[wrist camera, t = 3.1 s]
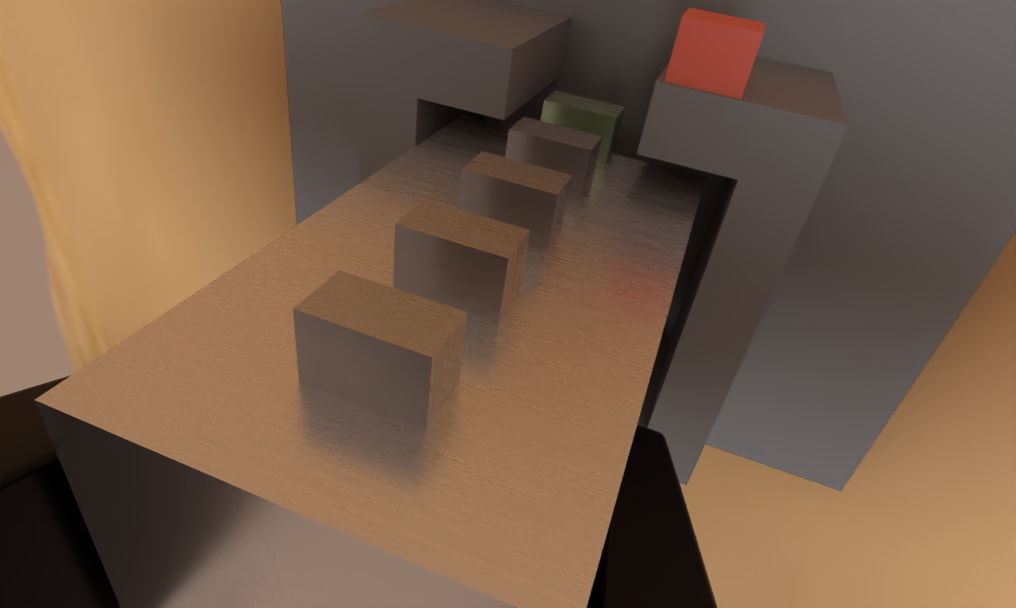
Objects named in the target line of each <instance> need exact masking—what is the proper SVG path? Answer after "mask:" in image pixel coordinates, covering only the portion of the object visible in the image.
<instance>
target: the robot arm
mask: <svg viewBox="0 0 1016 608" xmlns="http://www.w3.org/2000/svg"><path fill="white" fill-rule="evenodd" d="M70 376H71V375H70ZM70 376H67V377H64V378H61V379H57V380H54V381H51V382H47V383H44V384H41V385H37V386H34V387H31V388H28V389H24V390H21V391H18V392H15V393H11V394H8V395H5V396H1V397H0V608H120V605H119V603H118V600H117V598H116V596H115V593H114V591H113V588H112V586H111V583H110V581H109V579H108V576H107V574H106V571H105V569H104V567H103V564H102V562H101V559H100V557H99V554H98V552H97V550H96V547H95V545H94V542H93V540H92V538H91V535H90V533H89V530H88V528H87V525H86V523H85V521H84V518H83V516H82V513H81V511H80V509H79V506H78V504H77V501H76V499H75V496H74V494H73V492H72V489H71V487H70V484H69V482H68V480H67V477H66V475H65V472H64V470H63V467H62V465H61V463H60V460H59V458H58V455H57V453H56V451H55V448H54V446H53V443H52V441H51V438H50V436H49V434H48V431H47V429H46V426H45V424H44V422H43V419H42V417H41V414H40V412H39V409H38V407H37V405H36V402H35V399H37V398H38V397H40V396H41V395H43V394H44V393H46V392H47V391H49V390H50V389H52V388H53V387H55V386H56V385H58V384H59V383H61V382H62V381H64V380H65V379H67V378H68V377H70ZM586 608H717V605H716V601H715V598H714V595H713V592H712V588H711V585H710V582H709V578H708V575H707V572H706V569H705V565H704V562H703V559H702V556H701V552H700V549H699V546H698V542H697V539H696V536H695V533H694V529H693V526H692V523H691V520H690V516H689V513H688V510H687V506H686V503H685V500H684V497H683V493H682V490H681V487H680V483H679V480H678V477H677V474H676V470H675V467H674V464H673V461H672V457H671V454H670V451H669V447H668V444H667V441H666V438H665V436H664V435H663V434H662V433H660V432H658V431H655V430H652V429H650V428H647V427H644V426H641V425H638V424H637V427H636V430H635V434H634V438H633V441H632V445H631V448H630V452H629V456H628V459H627V463H626V467H625V470H624V474H623V477H622V481H621V485H620V488H619V492H618V495H617V499H616V503H615V506H614V510H613V513H612V517H611V521H610V524H609V528H608V531H607V535H606V539H605V542H604V546H603V550H602V553H601V557H600V560H599V564H598V568H597V571H596V575H595V578H594V582H593V586H592V589H591V593H590V596H589V600H588V604H587V607H586Z"/></svg>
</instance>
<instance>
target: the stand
mask: <svg viewBox="0 0 1016 608" xmlns="http://www.w3.org/2000/svg"><path fill="white" fill-rule="evenodd" d="M281 5H282V19H283V34H284V48H285V62H286V77H287V91H288V105H289V119H290V134H291V148H292V162H293V176H294V191H295V205H296V219H297V225H298V224H299V223H301V222H302V221H304V220H306V219H307V218H309V217H310V216H312V215H313V214H315V213H316V212H318V211H319V210H321V209H322V208H324V207H325V206H327V205H328V204H330V203H331V202H333V201H334V200H336V199H337V198H339V197H340V196H342V195H343V194H345V193H346V192H348V191H349V190H351V189H352V188H354V187H355V186H357V185H358V184H360V183H361V182H363V181H364V180H366V179H367V178H369V177H370V176H372V175H373V174H375V173H376V172H378V171H379V170H381V169H382V168H384V167H385V166H387V165H388V164H390V163H391V162H393V161H394V160H396V159H397V158H399V157H400V156H402V155H403V154H405V153H406V152H408V151H409V150H411V149H412V148H414V147H415V146H417V145H418V144H420V143H421V142H423V141H424V140H426V139H427V138H429V137H430V136H432V135H433V134H435V133H436V132H438V131H439V130H441V129H442V128H444V127H445V126H447V125H448V124H450V123H451V122H453V121H454V120H456V119H457V118H459V117H460V116H462V115H466V116H470V117H474V118H478V119H481V120H485V121H489V122H493V123H497V124H501V125H505V126H509V127H512V126H513V125H515V124H516V123H517V122H518V121H519V120H521V119H522V118H523V117H527V118H531V119H535V120H539V121H541V115H542V109H543V103H544V100H545V99H546V98H547V97H548V96H550V95H551V94H552V93H553V92H554V91H559V92H564V93H568V94H572V95H576V96H580V97H585V98H589V99H593V100H597V101H601V102H605V103H610V104H614V105H618V106H622V107H625V108H624V112H623V116H622V120H621V125H620V129H619V133H618V137H617V141H616V146H615V150H614V152H613V153H614V154H618V155H622V156H626V157H629V158H633V159H637V160H641V161H645V162H649V163H653V164H657V165H661V166H664V167H668V168H672V169H676V170H680V171H684V172H688V173H692V174H696V175H700V176H703V177H706V178H705V181H704V185H703V189H702V192H701V196H700V199H699V203H698V207H697V210H696V214H695V218H694V221H693V225H692V228H691V232H690V236H689V239H688V243H687V246H686V250H685V254H684V257H683V261H682V264H681V268H680V272H679V275H678V279H677V282H676V286H675V290H674V293H673V297H672V301H671V304H670V308H669V311H668V315H667V319H666V322H665V326H664V329H663V333H662V337H661V340H660V344H659V347H658V351H657V355H656V358H655V362H654V365H653V369H652V373H651V376H650V380H649V384H648V387H647V391H646V394H645V398H644V402H643V405H642V409H641V412H640V416H639V420H638V423H637V424H638V425H641V426H644V427H647V428H650V429H652V430H655V431H658V432H660V433H662V434H663V435H664V436H665V438H666V441H667V444H668V447H669V451H670V454H671V457H672V461H673V464H674V467H675V470H676V474H677V477H678V480H679V483H682V484H685V485H687V483H688V481H689V478H690V476H691V474H692V472H693V469H694V467H695V465H696V463H697V461H698V458H699V456H700V454H701V452H702V449H703V447H704V445H705V444H707V445H709V446H712V447H715V448H718V449H721V450H724V451H727V452H730V453H732V454H735V455H738V456H741V457H744V458H747V459H750V460H753V461H755V462H758V463H761V464H764V465H767V466H770V467H773V468H776V469H778V470H781V471H784V472H787V473H790V474H793V475H796V476H799V477H802V478H804V479H807V480H810V481H813V482H816V483H819V484H822V485H825V486H827V487H830V488H833V489H836V490H839V491H842V489H843V488H844V486H845V485H846V483H847V482H848V480H849V479H850V477H851V476H852V474H853V473H854V471H855V470H856V468H857V467H858V465H859V464H860V462H861V461H862V459H863V458H864V456H865V455H866V453H867V452H868V450H869V449H870V447H871V446H872V444H873V443H874V442H875V440H876V439H877V437H878V436H879V434H880V433H881V431H882V430H883V428H884V427H885V425H886V424H887V422H888V421H889V419H890V418H891V416H892V415H893V413H894V412H895V410H896V409H897V407H898V406H899V404H900V403H901V401H902V400H903V398H904V397H905V395H906V394H907V392H908V391H909V389H910V388H911V386H912V385H913V384H914V382H915V381H916V379H917V378H918V376H919V375H920V373H921V372H922V370H923V369H924V367H925V366H926V364H927V363H928V361H929V360H930V358H931V357H932V355H933V354H934V352H935V351H936V349H937V348H938V346H939V345H940V343H941V342H942V340H943V339H944V337H945V336H946V334H947V333H948V331H949V330H950V328H951V327H952V326H953V324H954V323H955V321H956V320H957V318H958V317H959V315H960V314H961V312H962V311H963V309H964V308H965V306H966V305H967V303H968V302H969V300H970V299H971V297H972V296H973V294H974V293H975V291H976V290H977V288H978V287H979V285H980V284H981V282H982V281H983V279H984V278H985V276H986V275H987V273H988V272H989V270H990V269H991V268H992V266H993V265H994V263H995V262H996V260H997V259H998V257H999V256H1000V254H1001V253H1002V251H1003V250H1004V248H1005V247H1006V245H1007V244H1008V242H1009V241H1010V239H1011V238H1012V236H1013V235H1014V233H1015V232H1016V0H281Z"/></svg>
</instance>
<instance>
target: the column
mask: <svg viewBox="0 0 1016 608" xmlns="http://www.w3.org/2000/svg"><path fill="white" fill-rule="evenodd" d="M624 108H625V107H622V106H618V105H614V104H610V103H605V102H601V101H597V100H593V99H589V98H585V97H580V96H576V95H572V94H568V93H564V92H559V91H554V92H553V93H552V94H551V95H550V96H548V97H547V98H546V99H545V100H544V103H543V109H542V115H541V121H539V120H535V119H531V118H527V117H523V118H522V119H521V120H519V121H518V122H517V123H516V124H515V125H513V126H512V127H509V126H505V125H501V124H497V123H493V122H489V121H485V120H481V119H478V118H474V117H470V116H466V115H462V116H460V117H459V118H457V119H456V120H454V121H453V122H451V123H450V124H448V125H447V126H445V127H444V128H442V129H441V130H439V131H438V132H436V133H435V134H433V135H432V136H430V137H429V138H427V139H426V140H424V141H423V142H421V143H420V144H418V145H417V146H415V147H414V148H412V149H411V150H409V151H408V152H406V153H405V154H403V155H402V156H400V157H399V158H397V159H396V160H394V161H393V162H391V163H390V164H388V165H387V166H385V167H384V168H382V169H381V170H379V171H378V172H376V173H375V174H373V175H372V176H370V177H369V178H367V179H366V180H364V181H363V182H361V183H360V184H358V185H357V186H355V187H354V188H352V189H351V190H349V191H348V192H346V193H345V194H343V195H342V196H340V197H339V198H337V199H336V200H334V201H333V202H331V203H330V204H328V205H327V206H325V207H324V208H322V209H321V210H319V211H318V212H316V213H315V214H313V215H312V216H310V217H309V218H307V219H306V220H304V221H302V222H301V223H299V224H298V225H296V226H295V227H293V228H292V229H290V230H289V231H287V232H286V233H284V234H283V235H281V236H280V237H278V238H277V239H275V240H274V241H272V242H271V243H269V244H268V245H266V246H265V247H263V248H262V249H260V250H259V251H257V252H256V253H254V254H253V255H251V256H250V257H248V258H247V259H245V260H244V261H242V262H241V263H239V264H238V265H236V266H235V267H233V268H232V269H230V270H229V271H227V272H226V273H224V274H223V275H221V276H220V277H218V278H217V279H215V280H214V281H212V282H211V283H209V284H208V285H206V286H205V287H203V288H202V289H200V290H199V291H197V292H196V293H194V294H193V295H191V296H190V297H188V298H187V299H185V300H184V301H182V302H181V303H179V304H178V305H176V306H175V307H173V308H172V309H170V310H169V311H167V312H166V313H164V314H163V315H161V316H160V317H158V318H157V319H155V320H154V321H152V322H151V323H149V324H148V325H146V326H145V327H143V328H142V329H140V330H139V331H137V332H136V333H134V334H133V335H131V336H130V337H128V338H127V339H125V340H124V341H122V342H121V343H119V344H118V345H116V346H115V347H113V348H112V349H110V350H109V351H107V352H106V353H104V354H103V355H101V356H100V357H98V358H97V359H95V360H94V361H92V362H91V363H89V364H88V365H86V366H85V367H83V368H82V369H80V370H79V371H77V372H76V373H74V374H73V375H71V376H70V377H68V378H67V379H65V380H64V381H62V382H61V383H59V384H58V385H56V386H55V387H53V388H52V389H50V390H49V391H47V392H46V393H44V394H43V395H41V396H40V397H38V398H37V399H35V402H36V405H37V407H38V409H39V412H40V414H41V417H42V419H43V422H44V424H45V426H46V429H47V431H48V434H49V436H50V438H51V441H52V443H53V446H54V448H55V451H56V453H57V455H58V458H59V460H60V463H61V465H62V467H63V470H64V472H65V475H66V477H67V480H68V482H69V484H70V487H71V489H72V492H73V494H74V496H75V499H76V501H77V504H78V506H79V509H80V511H81V513H82V516H83V518H84V521H85V523H86V525H87V528H88V530H89V533H90V535H91V538H92V540H93V542H94V545H95V547H96V550H97V552H98V554H99V557H100V559H101V562H102V564H103V567H104V569H105V571H106V574H107V576H108V579H109V581H110V583H111V586H112V588H113V591H114V593H115V596H116V598H117V600H118V603H119V605H120V608H586V607H587V604H588V600H589V596H590V593H591V589H592V586H593V582H594V578H595V575H596V571H597V568H598V564H599V560H600V557H601V553H602V550H603V546H604V542H605V539H606V535H607V531H608V528H609V524H610V521H611V517H612V513H613V510H614V506H615V503H616V499H617V495H618V492H619V488H620V485H621V481H622V477H623V474H624V470H625V467H626V463H627V459H628V456H629V452H630V448H631V445H632V441H633V438H634V434H635V430H636V427H637V423H638V420H639V416H640V412H641V409H642V405H643V402H644V398H645V394H646V391H647V387H648V384H649V380H650V376H651V373H652V369H653V365H654V362H655V358H656V355H657V351H658V347H659V344H660V340H661V337H662V333H663V329H664V326H665V322H666V319H667V315H668V311H669V308H670V304H671V301H672V297H673V293H674V290H675V286H676V282H677V279H678V275H679V272H680V268H681V264H682V261H683V257H684V254H685V250H686V246H687V243H688V239H689V236H690V232H691V228H692V225H693V221H694V218H695V214H696V210H697V207H698V203H699V199H700V196H701V192H702V189H703V185H704V181H705V178H706V177H703V176H700V175H696V174H692V173H688V172H684V171H680V170H676V169H672V168H668V167H664V166H661V165H657V164H653V163H649V162H645V161H641V160H637V159H633V158H629V157H626V156H622V155H618V154H614V153H613V152H614V150H615V146H616V141H617V137H618V133H619V129H620V125H621V120H622V116H623V112H624Z"/></svg>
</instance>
